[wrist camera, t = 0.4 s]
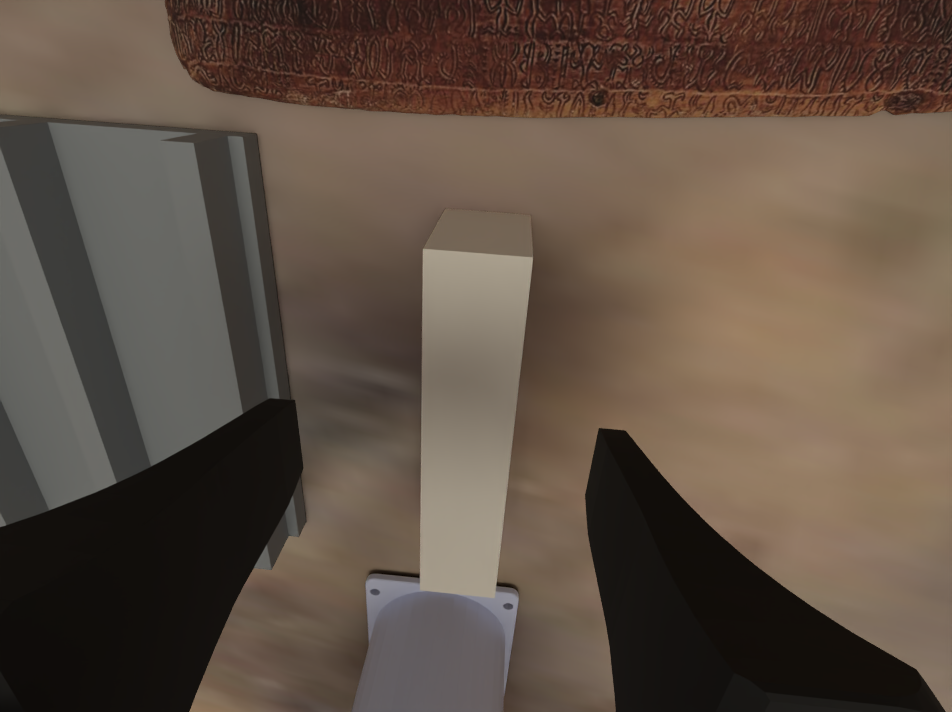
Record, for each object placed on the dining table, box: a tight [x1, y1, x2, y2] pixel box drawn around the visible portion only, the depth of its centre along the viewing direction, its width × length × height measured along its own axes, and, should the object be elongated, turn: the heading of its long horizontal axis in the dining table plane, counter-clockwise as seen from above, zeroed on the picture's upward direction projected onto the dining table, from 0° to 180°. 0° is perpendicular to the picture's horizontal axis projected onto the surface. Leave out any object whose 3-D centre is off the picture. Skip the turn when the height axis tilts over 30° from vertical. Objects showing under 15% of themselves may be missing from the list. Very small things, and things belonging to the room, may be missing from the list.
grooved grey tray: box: [0, 115, 306, 570], centre depth 21 cm, size 18×14×3 cm
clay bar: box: [420, 208, 533, 598], centre depth 20 cm, size 14×3×5 cm, turn 177°
